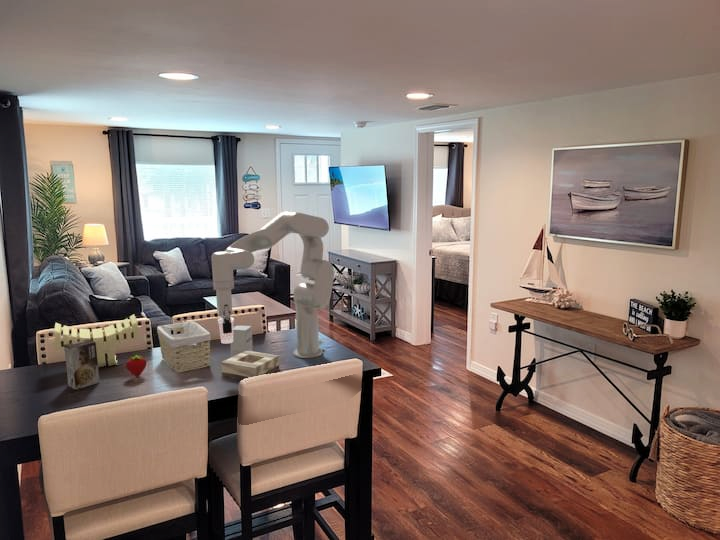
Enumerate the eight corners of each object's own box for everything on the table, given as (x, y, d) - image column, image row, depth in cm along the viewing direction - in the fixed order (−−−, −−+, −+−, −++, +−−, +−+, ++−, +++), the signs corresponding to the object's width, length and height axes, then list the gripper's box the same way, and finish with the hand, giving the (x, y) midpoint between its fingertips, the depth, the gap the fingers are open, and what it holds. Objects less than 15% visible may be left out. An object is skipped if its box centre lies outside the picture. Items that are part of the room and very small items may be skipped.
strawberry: (125, 376, 207) (123, 351, 205) (145, 372, 211) (144, 348, 209) (128, 381, 202) (126, 356, 200) (149, 377, 206) (147, 352, 204)
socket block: (247, 363, 222) (246, 350, 221) (279, 368, 215) (278, 355, 214) (221, 375, 207) (221, 362, 206) (255, 381, 201) (254, 368, 200)
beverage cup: (236, 339, 207) (234, 304, 204) (233, 344, 201) (231, 308, 198) (221, 339, 206) (218, 304, 204) (217, 344, 200) (214, 308, 198)
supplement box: (246, 358, 227) (245, 330, 225) (230, 357, 228) (229, 329, 226) (253, 353, 234) (252, 325, 232) (237, 352, 236) (236, 324, 233)
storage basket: (213, 367, 217) (212, 332, 215) (173, 375, 208) (170, 339, 206) (195, 352, 236) (193, 320, 234) (157, 359, 227) (155, 325, 225)
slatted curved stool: (58, 375, 208) (54, 331, 205) (59, 363, 222) (55, 322, 219) (140, 363, 222) (137, 322, 219) (136, 352, 236) (134, 313, 233)
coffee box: (92, 379, 204) (88, 338, 202) (100, 382, 200) (96, 341, 198) (67, 385, 197) (63, 344, 195) (75, 390, 193) (71, 347, 191)
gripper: (211, 281, 206) (214, 325, 209) (215, 289, 190) (218, 338, 193) (231, 279, 209) (234, 323, 212) (236, 288, 193) (239, 335, 196)
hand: (226, 330), depth 203 cm, fingers closed on beverage cup, 6 cm apart
